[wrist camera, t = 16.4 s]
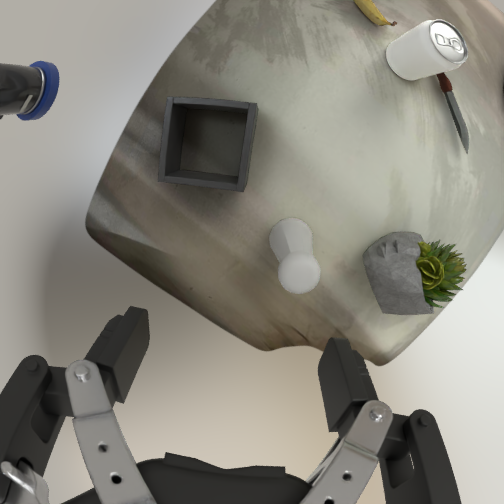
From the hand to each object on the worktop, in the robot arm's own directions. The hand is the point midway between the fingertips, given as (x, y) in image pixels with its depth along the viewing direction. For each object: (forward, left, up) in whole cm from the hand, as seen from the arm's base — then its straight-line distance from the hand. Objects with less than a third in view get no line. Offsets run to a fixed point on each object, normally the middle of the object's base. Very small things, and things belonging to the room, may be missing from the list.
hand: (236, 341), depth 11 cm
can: (+17, +25, -28) cm, 41 cm away
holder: (-7, +7, -28) cm, 29 cm away
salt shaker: (+5, -4, -28) cm, 28 cm away
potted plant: (+23, -4, -28) cm, 36 cm away
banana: (+10, +32, -28) cm, 44 cm away
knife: (+25, +22, -28) cm, 44 cm away
